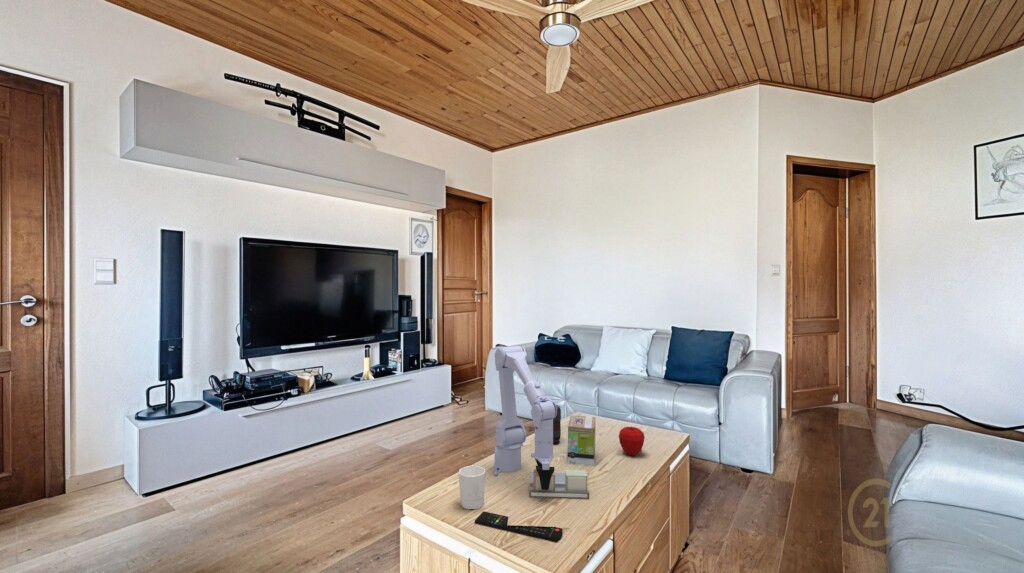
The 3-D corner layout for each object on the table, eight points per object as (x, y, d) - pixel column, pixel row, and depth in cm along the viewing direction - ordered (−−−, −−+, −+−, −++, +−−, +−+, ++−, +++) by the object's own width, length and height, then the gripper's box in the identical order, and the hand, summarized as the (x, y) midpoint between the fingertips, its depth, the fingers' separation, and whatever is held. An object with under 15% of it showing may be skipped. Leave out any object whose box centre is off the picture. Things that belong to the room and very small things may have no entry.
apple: (647, 459, 164) (647, 430, 164) (622, 458, 165) (622, 430, 165) (640, 449, 174) (640, 422, 174) (616, 449, 174) (616, 422, 174)
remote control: (483, 515, 124) (483, 511, 124) (564, 534, 115) (564, 529, 115) (474, 525, 119) (474, 520, 119) (558, 545, 110) (558, 539, 110)
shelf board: (529, 501, 132) (529, 491, 132) (530, 475, 150) (530, 467, 150) (589, 503, 131) (589, 493, 131) (583, 476, 149) (583, 468, 149)
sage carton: (566, 495, 133) (566, 475, 133) (565, 489, 137) (565, 470, 137) (587, 495, 133) (587, 476, 133) (586, 489, 137) (586, 470, 137)
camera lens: (537, 443, 181) (537, 407, 181) (547, 437, 188) (547, 403, 188) (554, 447, 177) (554, 410, 177) (564, 441, 183) (564, 405, 183)
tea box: (595, 469, 155) (595, 427, 155) (566, 466, 157) (566, 426, 157) (595, 453, 170) (595, 415, 170) (569, 451, 172) (569, 414, 172)
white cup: (474, 513, 125) (474, 478, 125) (453, 506, 129) (453, 472, 129) (490, 502, 131) (490, 469, 131) (469, 495, 135) (469, 463, 136)
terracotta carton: (534, 494, 134) (534, 474, 134) (533, 488, 138) (533, 469, 138) (555, 494, 134) (555, 474, 134) (553, 488, 138) (553, 469, 138)
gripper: (529, 432, 143) (530, 473, 143) (532, 448, 128) (532, 494, 128) (551, 432, 143) (551, 473, 143) (556, 448, 128) (556, 494, 128)
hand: (543, 483), depth 136 cm, fingers open, 7 cm apart
